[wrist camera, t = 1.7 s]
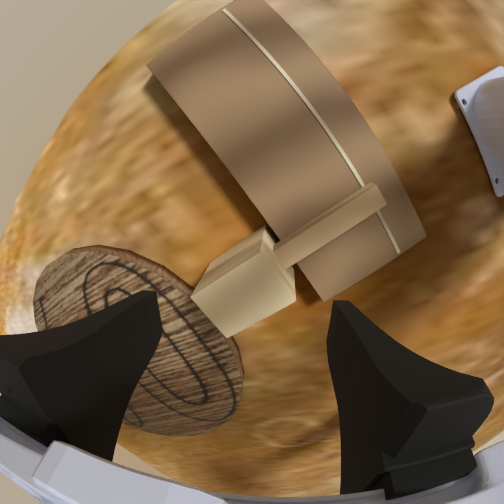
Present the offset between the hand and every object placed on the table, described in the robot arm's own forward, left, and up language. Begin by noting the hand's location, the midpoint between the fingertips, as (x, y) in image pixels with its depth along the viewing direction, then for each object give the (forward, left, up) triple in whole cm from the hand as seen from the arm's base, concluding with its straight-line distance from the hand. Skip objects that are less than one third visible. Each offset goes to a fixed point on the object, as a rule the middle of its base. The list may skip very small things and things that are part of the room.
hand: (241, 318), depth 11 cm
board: (+4, -6, -10) cm, 12 cm away
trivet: (-3, +19, -11) cm, 22 cm away
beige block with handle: (-1, -2, -10) cm, 10 cm away
